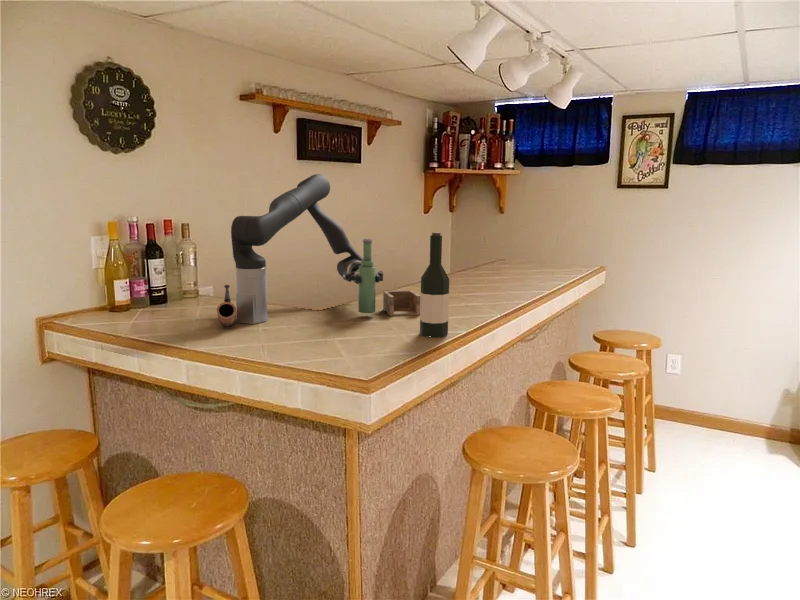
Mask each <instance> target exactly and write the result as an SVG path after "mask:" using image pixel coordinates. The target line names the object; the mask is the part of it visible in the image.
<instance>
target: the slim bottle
mask: <svg viewBox="0 0 800 600" xmlns="http://www.w3.org/2000/svg"><path fill="white" fill-rule="evenodd" d="M362 243H363V255H362V256H363V257H362V258H363V260H361V266H359V276H360V283H359V284H358V306H357V307H358V311H357V312H358V313H362V314H372V313H375V312H376V285H377V284H376V273H377V271H376V270H377V267H376V266H375V265H374V260H373V259H372V243H373V239H372V238H362Z"/></svg>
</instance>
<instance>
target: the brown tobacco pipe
mask: <svg viewBox="0 0 800 600" xmlns="http://www.w3.org/2000/svg"><path fill="white" fill-rule="evenodd" d="M224 288H225V290H224V291H225V293H224V299H223V302H221V303H220V304H219V305H218V306H217V308H216V314H217V320H218V322H219V323H220V324H221V325H223V326H224V327H230V326H232V325H234V323H235V322H237V309H236V305H234V303H232V302H231V295H230V290H229V288H230V284H225V285H224Z"/></svg>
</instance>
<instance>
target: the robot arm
mask: <svg viewBox="0 0 800 600" xmlns="http://www.w3.org/2000/svg"><path fill="white" fill-rule="evenodd" d="M329 181H330V180H328V178H327V177H326V176H324V175H323V174H319V173H316V174H313V175H310V176H308V177H307V178H305V179H302V180H301V181H300V182H299V183H298V184H297V186H296V187H294V188H292V189H290V190H287V191H286V192H284V193H282V194H279V196H277V197H276V198H274V199H273V200H272V201H271V202H270V204H269V206H268V212H267V213H265V214H263V215H238V216H235V217H234V219H233V220H232V222H231V227H230V237H231V246H232V258H233V260H234V263H235V277H236V281H235V282H236V283H235V284H236V293H235V307H236V323H238V324H251V325H253V324H259V323H265V322H266V321H268V319H269V318H268V317H269V316H268V293H267V291H268V290H267V267H266V266H267V260H266V259H265V257H264V256H262V255H260V254H258V253H257V252H255V250H254V249H253V247H260V246H264V245H266V244H268V242H270V240H272V238H273V237H275V235H276V234H277V233H278V232H279V231H281V229H283V228H284V227H286V226H288V224H290V223H291V222H293V221H295V220H296V219H297V218H298V217H299V216H301V215H303V213H304V212H305V211H306V210H307V212H308V213H309V214H310V216H311V217H312V218H313V219H314V221H315V222H316V224H317V225H318V227H319V228H320V229H321V231H322V232H323V235H324V237H325V239H326V240H327V242H328V244H329V246H330V248H331V249H332V251H333V253H334V254H335V255H340V254H343V253H344V254H345V253H346V254H349V256H347V257H345V258H344V259H341V260H340V261H338V263H337V264H336V271H337V273H338V274H339V276H340V277H342V280H344V281H347V282H349V283H351V282H354V283H355V284H356V285H359V283H360V276H359V266H361V260H363V257H362V256H361V255H360V253H358V251H356V250H355V248H354V247H353V246H352V244H351V242H350V241H349V239H348V237H347V235H346V232H345V231H344V229H343V227H342V226H341V225H340V224H339V223H338V222H337V221H335V220H334V219H333V218H331V217H330V216H329V215H328V214H326V213H325V212H324V211H323V210H322V208H321V207H320V204H319V203H318V202H320V201H321V200H324V199H325V198H326V197H327V196H328V195H329V194H330V193H331V191H330V190H331V184H330V182H329ZM383 281H384V271H382V270H379V271H377V272H376V283H377V284H379V283H380V282H383Z"/></svg>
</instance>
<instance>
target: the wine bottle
mask: <svg viewBox="0 0 800 600" xmlns="http://www.w3.org/2000/svg"><path fill="white" fill-rule="evenodd" d="M441 233H442V232H438V231H435V232H434V231H433V232H431V235H429V236H430V237H429V265H428V266H427V267H426V269H425V271H424V273H423V274H422V275H421V277H420V315H419V334H420V333H421V334H422V335H424V336H423V337H426V336H431V337H430V338H442V337H441V336H444V337H446V336H448V335H447V334H449V306H450V304H449V303H450V301H449V300H450V278H449V276H448V274H447V272H446V270H445V268H444V267H443V265H442V255H443V254H442V253H443V252H442V250H443V247H442V246H443V235H442V234H441ZM421 334H420V335H421ZM422 335H421V336H422ZM445 335H446V336H445Z"/></svg>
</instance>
